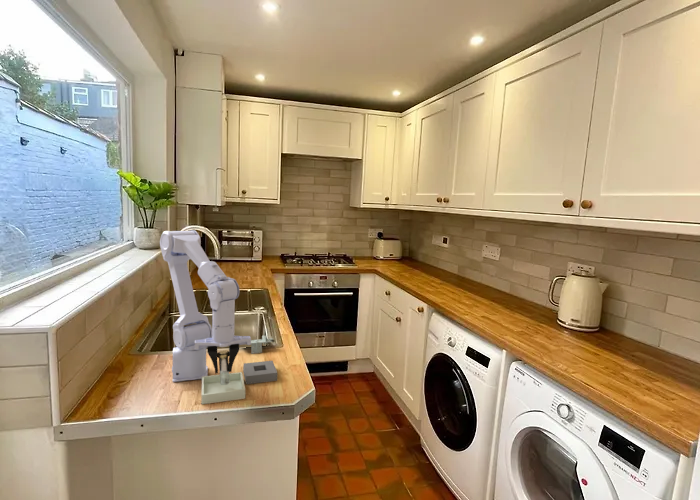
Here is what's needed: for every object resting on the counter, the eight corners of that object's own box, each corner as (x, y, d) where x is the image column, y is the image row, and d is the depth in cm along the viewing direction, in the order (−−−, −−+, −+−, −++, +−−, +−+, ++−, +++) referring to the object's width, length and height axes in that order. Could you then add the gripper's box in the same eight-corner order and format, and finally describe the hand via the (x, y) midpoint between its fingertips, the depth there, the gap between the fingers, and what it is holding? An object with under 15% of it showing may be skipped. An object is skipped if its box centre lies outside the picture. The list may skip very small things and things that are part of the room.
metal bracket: (278, 335, 134) (234, 339, 128) (278, 352, 133) (234, 356, 127) (271, 333, 147) (231, 337, 141) (271, 349, 146) (231, 352, 141)
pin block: (246, 384, 109) (246, 376, 108) (243, 371, 117) (243, 363, 117) (277, 380, 112) (277, 372, 111) (272, 367, 120) (272, 360, 120)
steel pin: (218, 386, 102) (216, 356, 101) (218, 381, 105) (217, 351, 104) (230, 384, 103) (229, 354, 102) (230, 379, 106) (229, 349, 105)
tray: (201, 404, 97) (201, 395, 97) (202, 384, 107) (202, 376, 107) (245, 398, 101) (245, 389, 100) (241, 380, 111) (241, 372, 111)
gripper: (194, 330, 95) (194, 380, 97) (252, 326, 101) (251, 374, 102) (195, 322, 102) (195, 369, 103) (249, 318, 107) (248, 363, 109)
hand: (223, 371), depth 103 cm, fingers closed on steel pin, 3 cm apart
